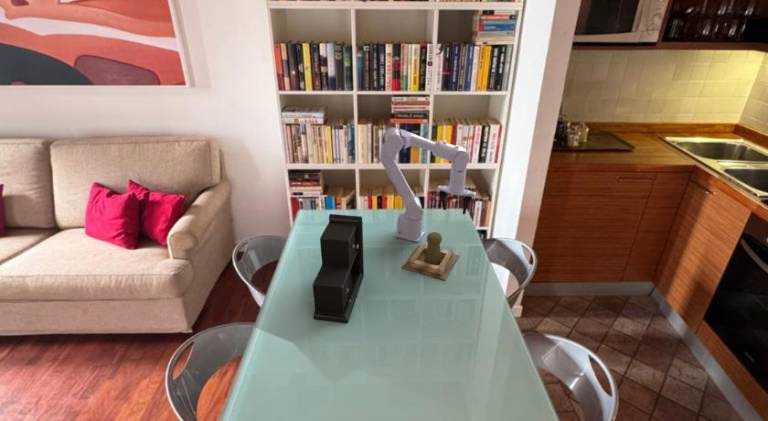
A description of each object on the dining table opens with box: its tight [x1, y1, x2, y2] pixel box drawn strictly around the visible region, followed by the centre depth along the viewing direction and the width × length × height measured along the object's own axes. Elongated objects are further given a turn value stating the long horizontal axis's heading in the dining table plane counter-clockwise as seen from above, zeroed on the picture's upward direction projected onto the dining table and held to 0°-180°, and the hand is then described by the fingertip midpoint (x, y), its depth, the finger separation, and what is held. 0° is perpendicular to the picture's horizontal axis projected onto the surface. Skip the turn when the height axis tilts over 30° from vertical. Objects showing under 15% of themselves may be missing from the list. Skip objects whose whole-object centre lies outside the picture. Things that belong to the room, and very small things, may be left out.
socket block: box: [401, 243, 460, 281], centre depth 146 cm, size 16×16×2 cm
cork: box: [424, 231, 443, 265], centre depth 144 cm, size 6×6×11 cm
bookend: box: [312, 213, 365, 324], centre depth 124 cm, size 23×11×24 cm, turn 171°
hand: (454, 211), depth 159 cm, fingers open, 7 cm apart
